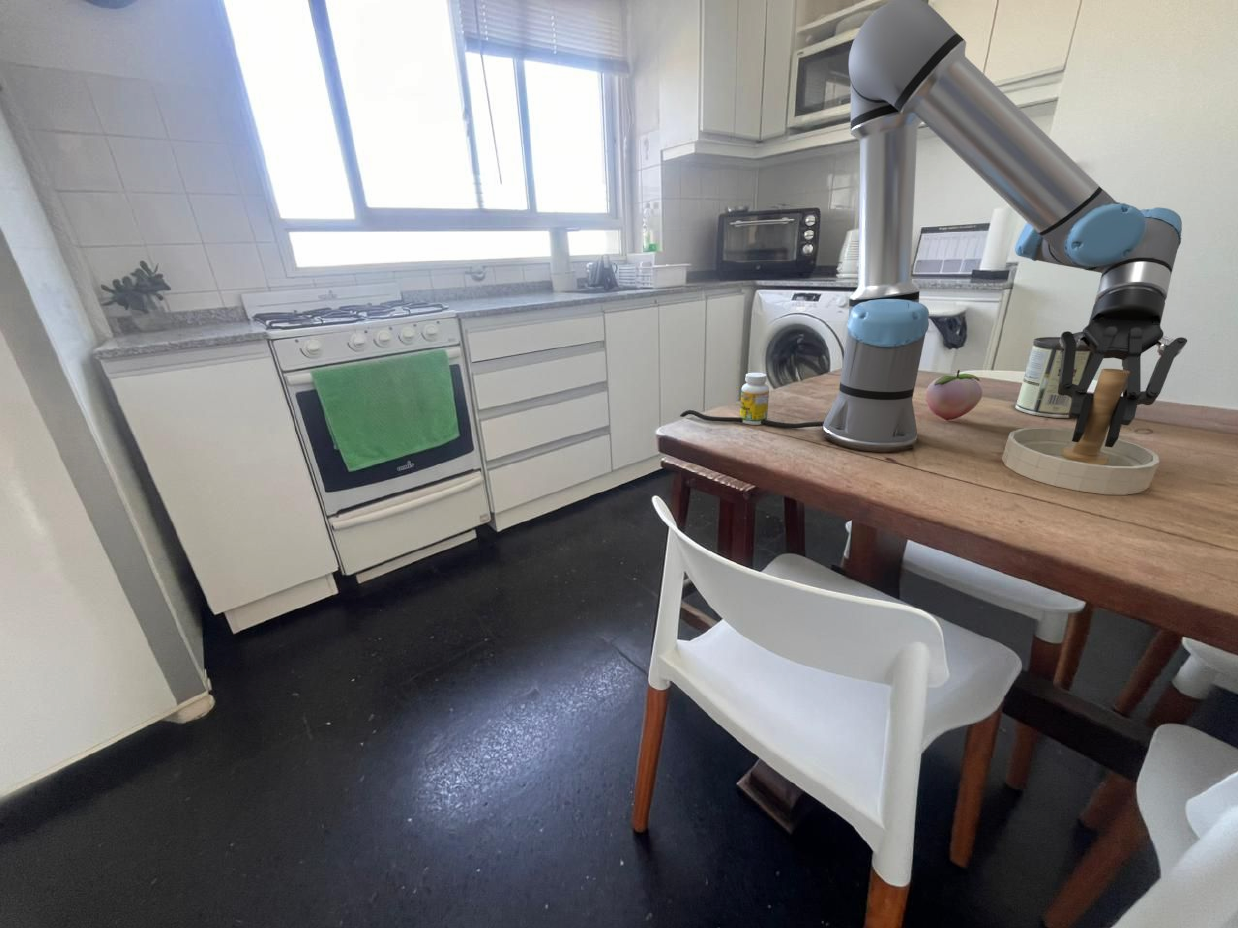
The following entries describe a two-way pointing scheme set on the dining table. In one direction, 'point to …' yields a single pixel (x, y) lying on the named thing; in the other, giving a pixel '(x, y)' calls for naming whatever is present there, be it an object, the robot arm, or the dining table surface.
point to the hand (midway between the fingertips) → (1094, 439)
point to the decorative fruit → (953, 395)
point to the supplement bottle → (754, 399)
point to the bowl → (1079, 463)
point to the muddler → (1099, 418)
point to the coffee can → (1049, 378)
